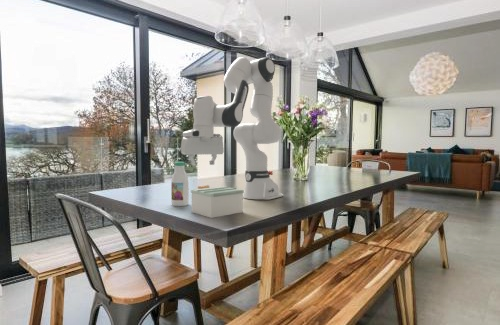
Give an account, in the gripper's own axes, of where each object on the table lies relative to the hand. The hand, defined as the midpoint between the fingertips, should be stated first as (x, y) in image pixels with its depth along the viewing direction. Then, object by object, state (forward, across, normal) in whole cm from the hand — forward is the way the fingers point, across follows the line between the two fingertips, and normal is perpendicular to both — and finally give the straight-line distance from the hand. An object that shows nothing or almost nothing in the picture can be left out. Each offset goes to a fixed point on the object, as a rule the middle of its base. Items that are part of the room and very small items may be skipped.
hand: (203, 165), depth 143 cm
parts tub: (+19, -1, +10) cm, 22 cm away
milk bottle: (+19, +3, -14) cm, 24 cm away
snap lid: (+11, 0, +17) cm, 21 cm away
